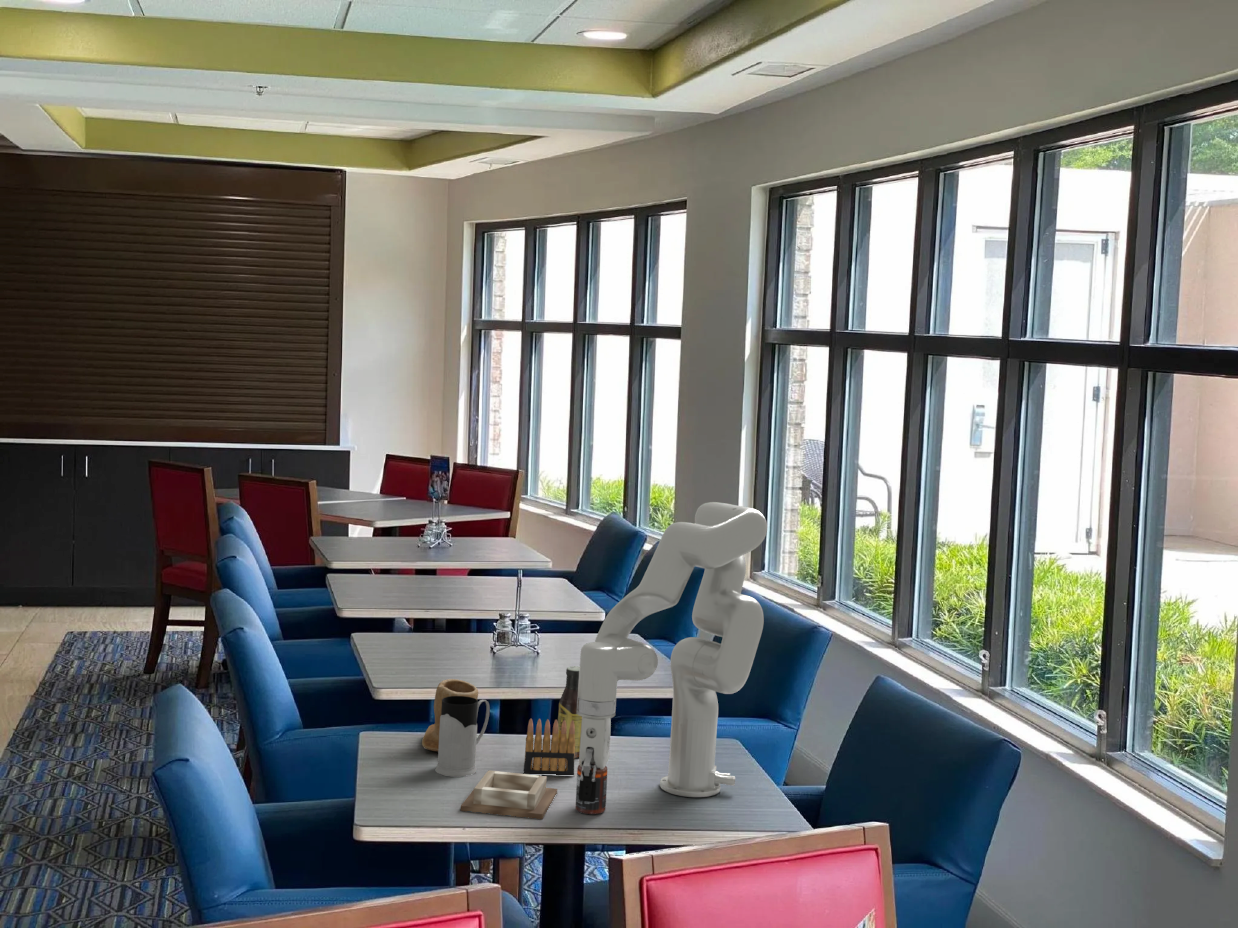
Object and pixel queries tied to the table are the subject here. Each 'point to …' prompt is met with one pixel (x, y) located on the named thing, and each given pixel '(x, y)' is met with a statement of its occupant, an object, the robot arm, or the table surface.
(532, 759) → the ammunition clip
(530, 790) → the board
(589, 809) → the supplement bottle
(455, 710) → the black and white mug
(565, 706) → the sauce bottle
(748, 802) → the table surface
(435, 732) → the tan boot
